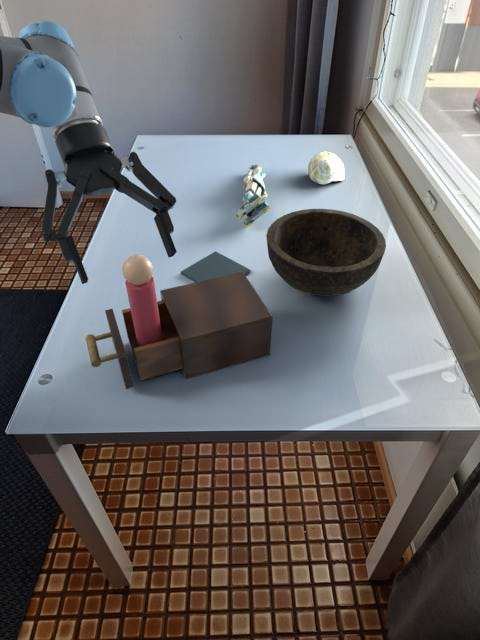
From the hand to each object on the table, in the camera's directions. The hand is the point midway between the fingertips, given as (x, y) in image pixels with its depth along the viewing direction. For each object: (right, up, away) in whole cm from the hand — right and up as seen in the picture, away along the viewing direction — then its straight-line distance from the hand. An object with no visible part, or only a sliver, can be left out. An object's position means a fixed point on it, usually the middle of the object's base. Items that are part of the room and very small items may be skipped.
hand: (130, 268), depth 70 cm
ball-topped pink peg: (+2, -13, +6) cm, 14 cm away
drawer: (+1, -14, +7) cm, 15 cm away
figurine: (+19, +22, +48) cm, 57 cm away
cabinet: (+12, -11, +11) cm, 20 cm away
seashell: (+39, +30, +57) cm, 75 cm away
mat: (+11, +2, +25) cm, 28 cm away
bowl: (+32, 0, +24) cm, 40 cm away
